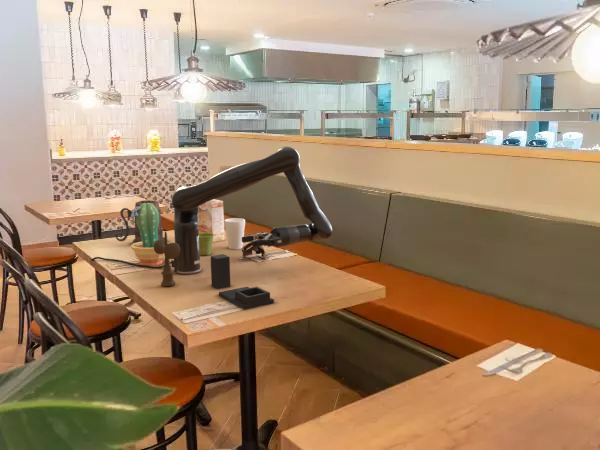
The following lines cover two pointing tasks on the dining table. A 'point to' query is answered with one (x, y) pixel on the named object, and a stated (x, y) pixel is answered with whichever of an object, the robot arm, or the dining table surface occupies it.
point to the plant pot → (205, 243)
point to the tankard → (136, 231)
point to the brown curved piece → (257, 249)
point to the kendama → (167, 259)
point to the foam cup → (234, 232)
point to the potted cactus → (147, 234)
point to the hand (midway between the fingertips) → (247, 241)
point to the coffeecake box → (212, 219)
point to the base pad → (247, 297)
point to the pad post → (220, 271)
